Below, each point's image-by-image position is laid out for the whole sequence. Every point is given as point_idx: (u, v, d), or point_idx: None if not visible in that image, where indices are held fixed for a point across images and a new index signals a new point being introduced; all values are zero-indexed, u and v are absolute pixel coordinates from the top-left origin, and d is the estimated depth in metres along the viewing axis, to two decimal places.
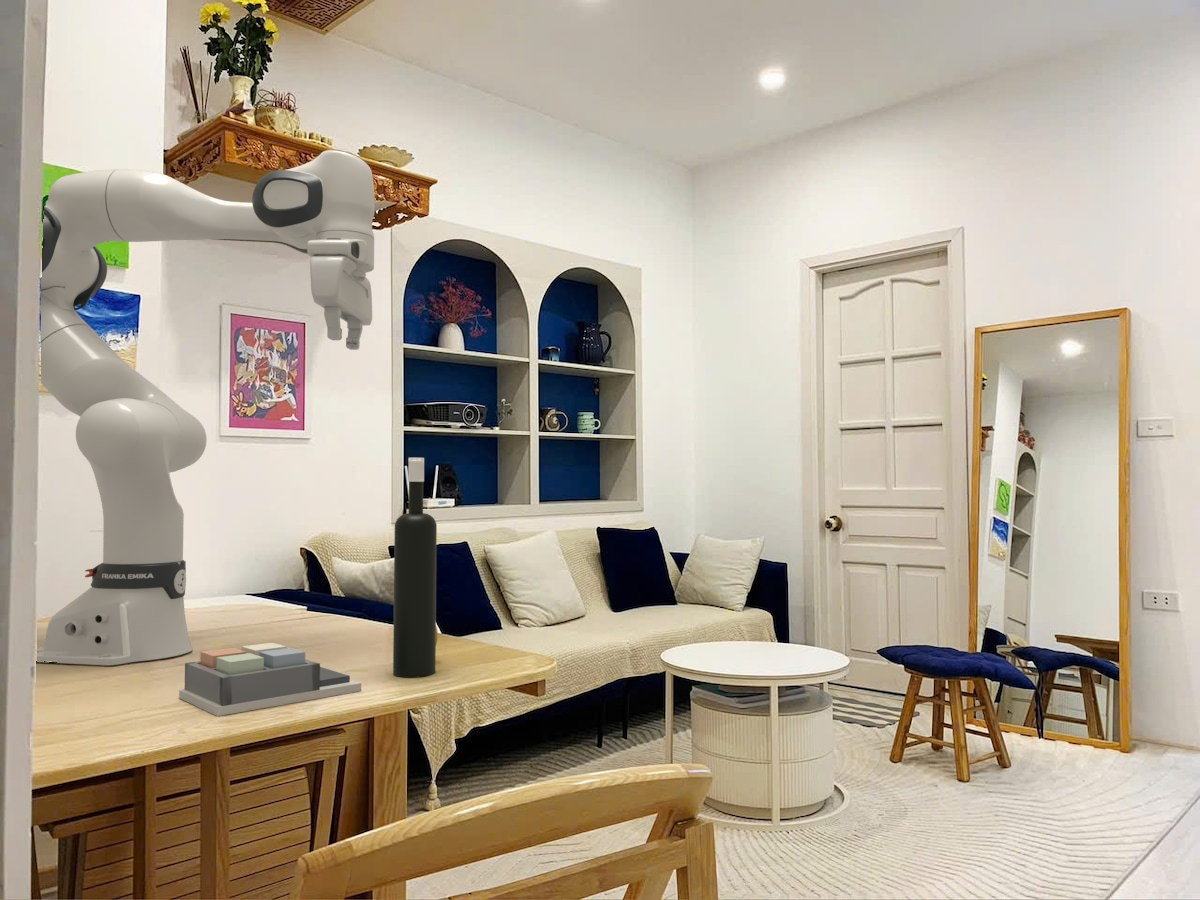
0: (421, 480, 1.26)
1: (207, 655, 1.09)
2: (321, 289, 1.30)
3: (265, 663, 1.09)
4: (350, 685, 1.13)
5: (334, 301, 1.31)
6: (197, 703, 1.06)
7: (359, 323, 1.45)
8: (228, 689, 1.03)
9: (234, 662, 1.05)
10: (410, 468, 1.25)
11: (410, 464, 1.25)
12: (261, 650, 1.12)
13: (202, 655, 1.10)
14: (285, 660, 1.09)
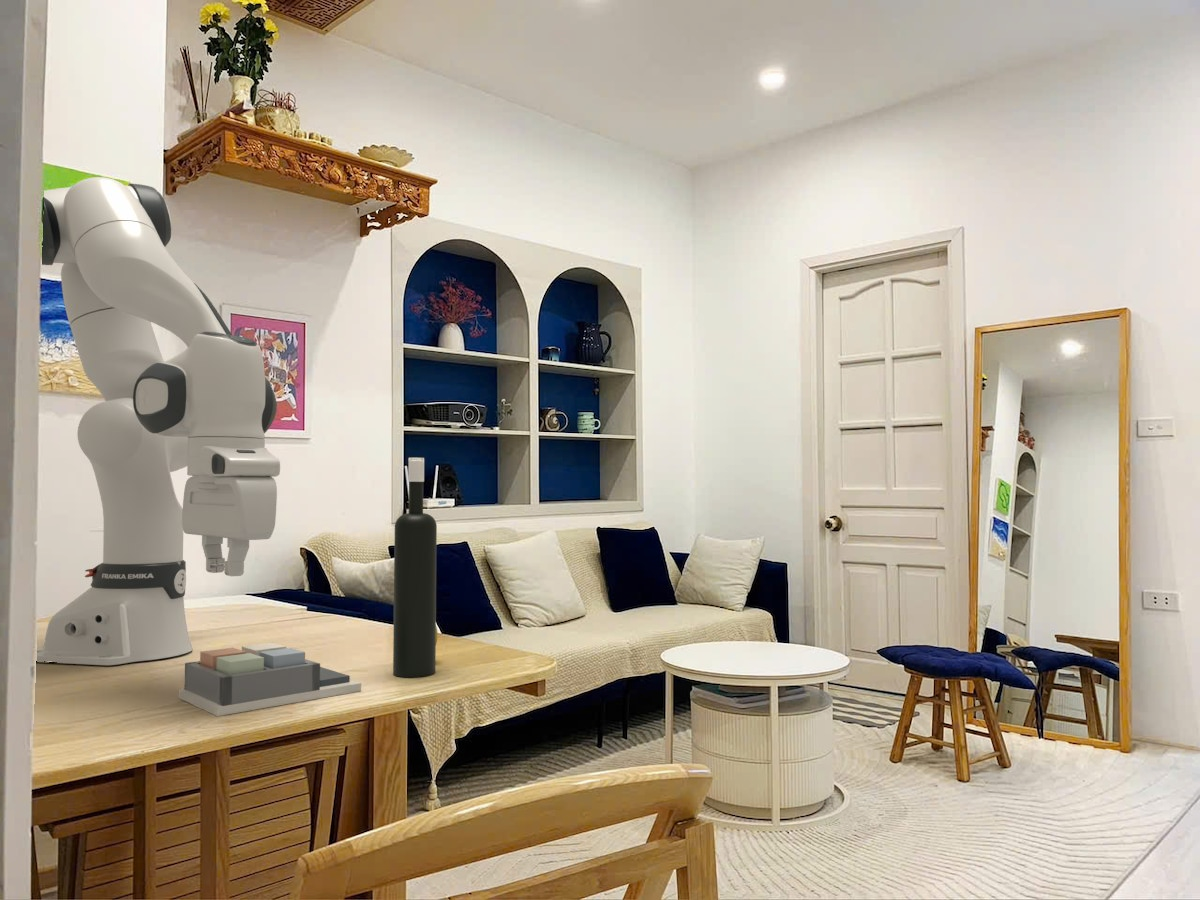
0: (421, 480, 1.26)
1: (207, 655, 1.09)
2: (256, 524, 1.04)
3: (265, 663, 1.09)
4: (350, 685, 1.13)
5: (268, 537, 1.05)
6: (197, 703, 1.06)
7: (221, 538, 1.14)
8: (228, 689, 1.03)
9: (234, 662, 1.05)
10: (410, 468, 1.25)
11: (410, 464, 1.25)
12: (261, 650, 1.12)
13: (202, 655, 1.10)
14: (285, 660, 1.09)
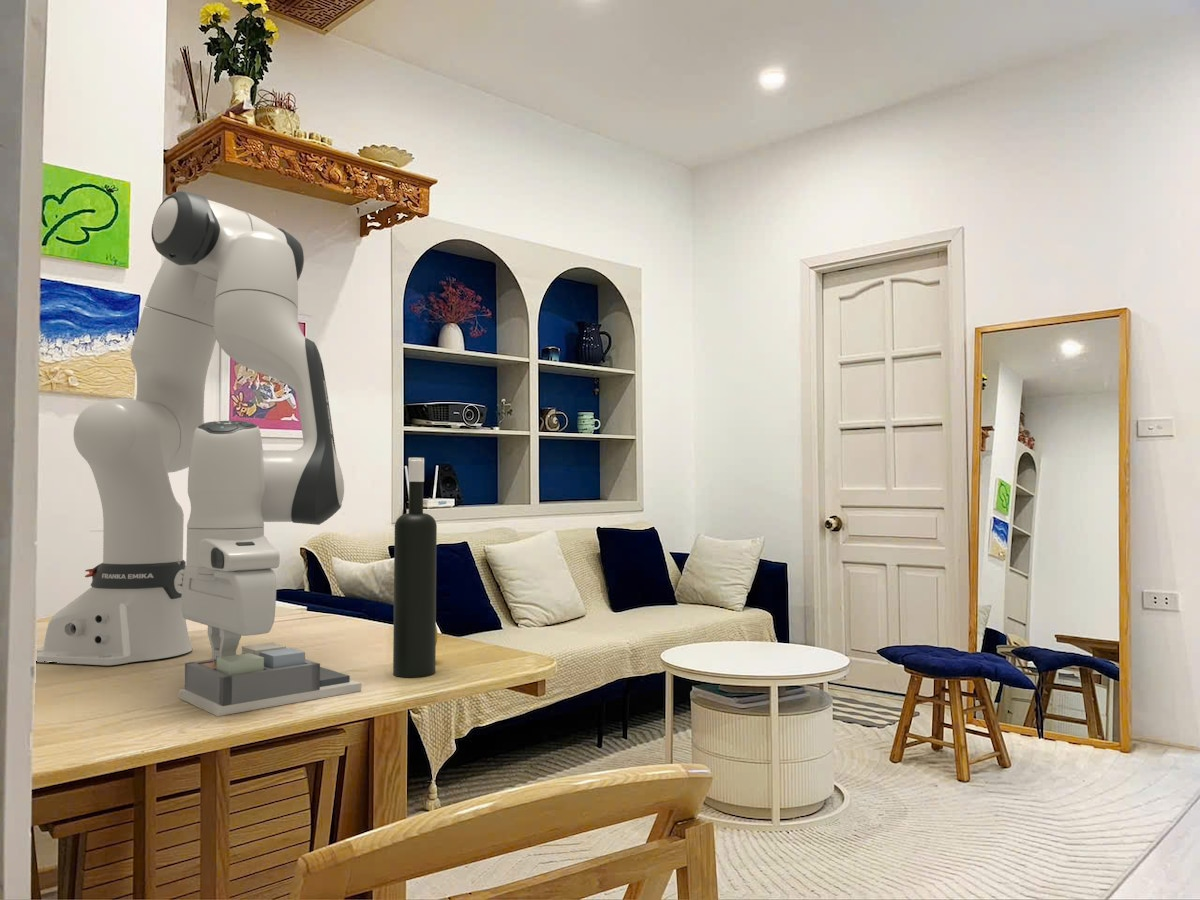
0: (421, 480, 1.26)
1: None
2: (256, 620, 1.04)
3: (265, 663, 1.09)
4: (350, 685, 1.13)
5: (268, 631, 1.05)
6: (197, 703, 1.06)
7: None
8: (228, 689, 1.03)
9: (234, 662, 1.05)
10: (410, 468, 1.25)
11: (410, 464, 1.25)
12: (261, 650, 1.12)
13: None
14: (285, 660, 1.09)
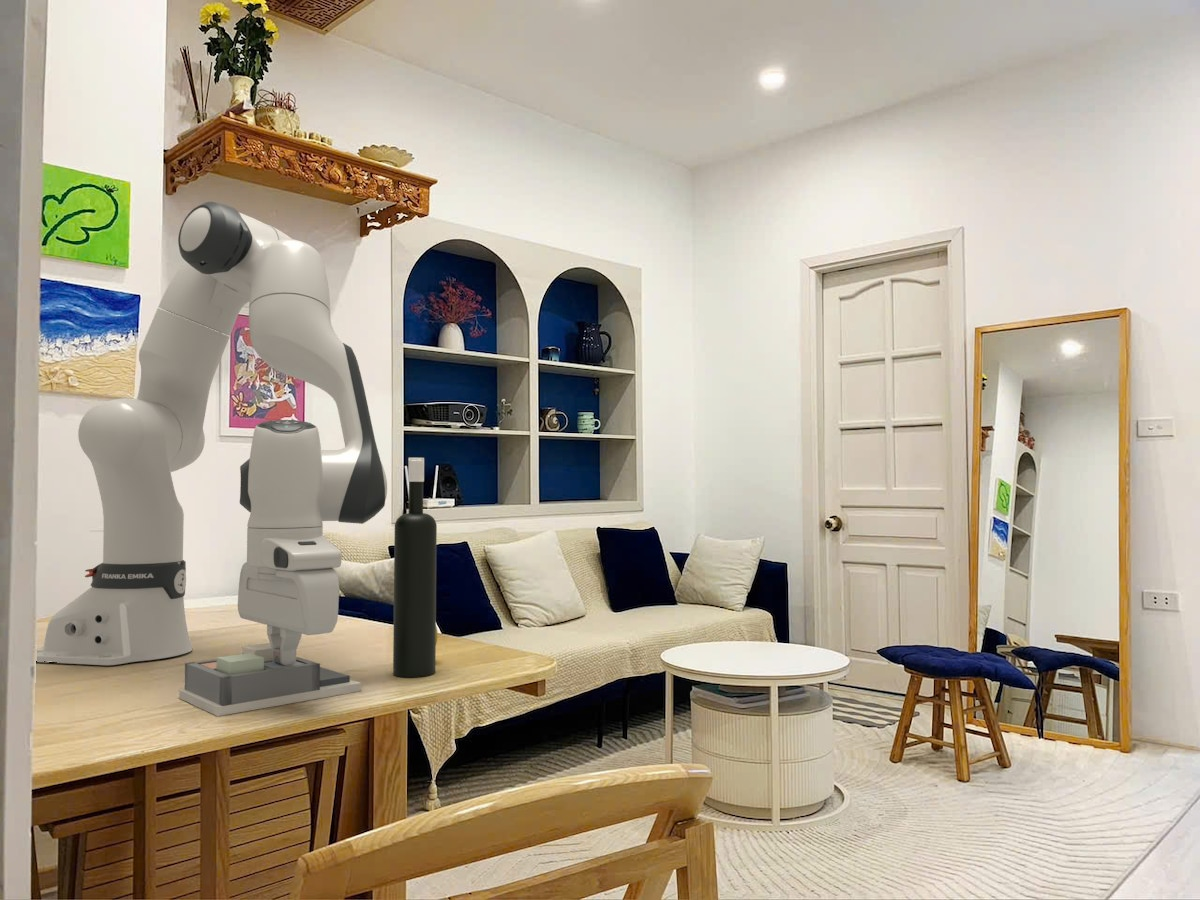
0: (421, 480, 1.26)
1: None
2: (320, 619, 1.04)
3: None
4: (350, 685, 1.13)
5: (331, 631, 1.05)
6: (197, 703, 1.06)
7: None
8: (228, 689, 1.03)
9: (234, 662, 1.05)
10: (410, 468, 1.25)
11: (410, 464, 1.25)
12: (261, 650, 1.12)
13: None
14: None
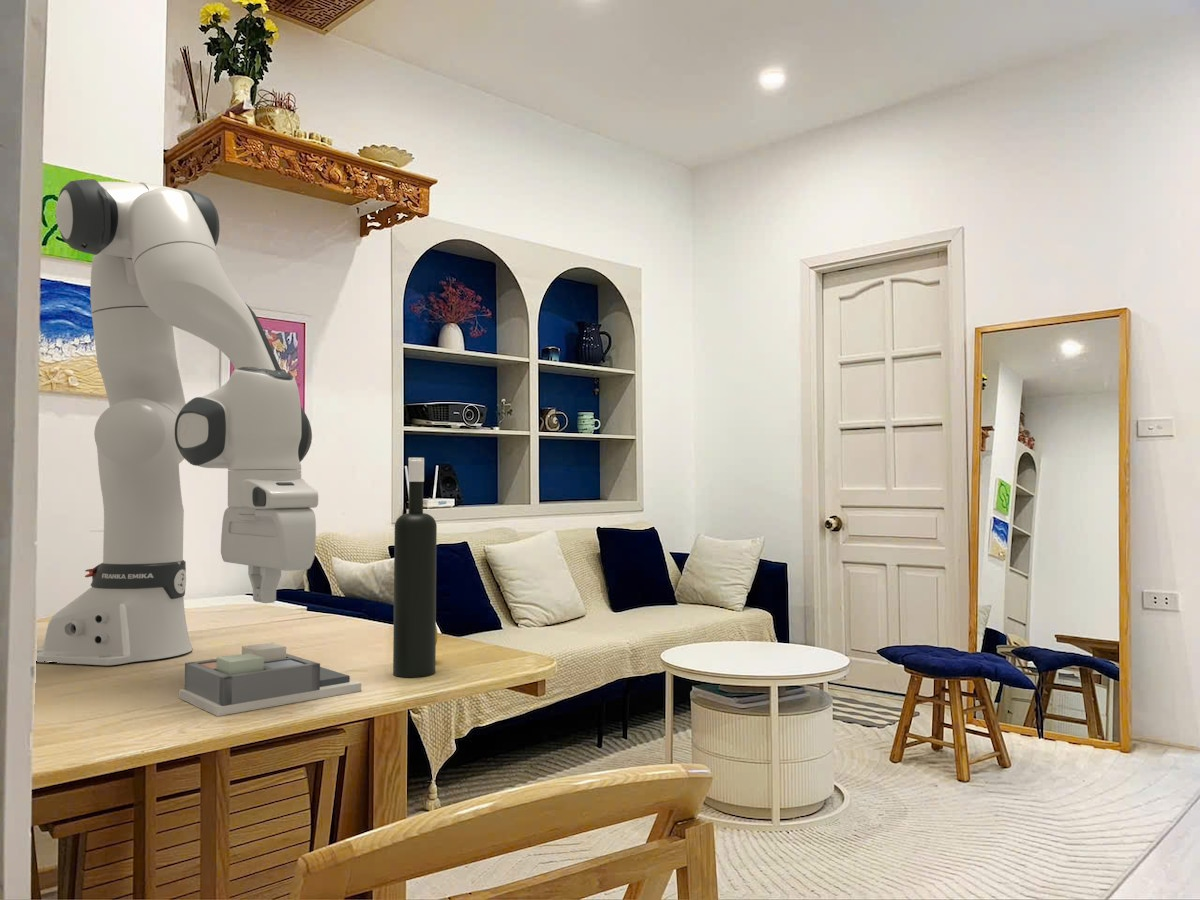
0: (421, 480, 1.26)
1: None
2: (297, 555, 1.07)
3: None
4: (350, 685, 1.13)
5: (308, 567, 1.09)
6: (197, 703, 1.06)
7: None
8: (228, 689, 1.03)
9: (234, 662, 1.05)
10: (410, 468, 1.25)
11: (410, 464, 1.25)
12: (261, 650, 1.12)
13: None
14: None
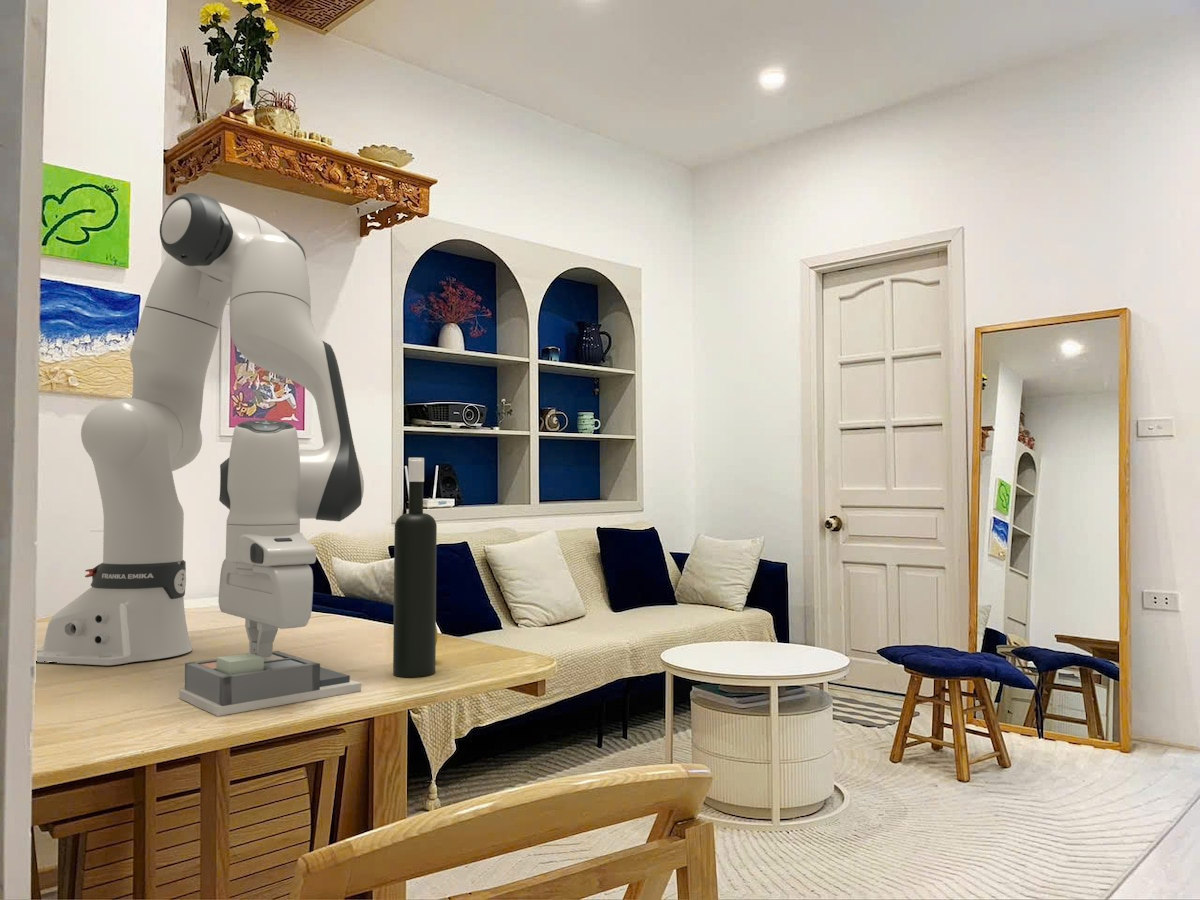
0: (421, 480, 1.26)
1: None
2: (294, 613, 1.07)
3: None
4: (350, 685, 1.13)
5: (305, 625, 1.08)
6: (197, 703, 1.06)
7: None
8: (228, 689, 1.03)
9: (234, 662, 1.05)
10: (410, 468, 1.25)
11: (410, 464, 1.25)
12: None
13: None
14: None
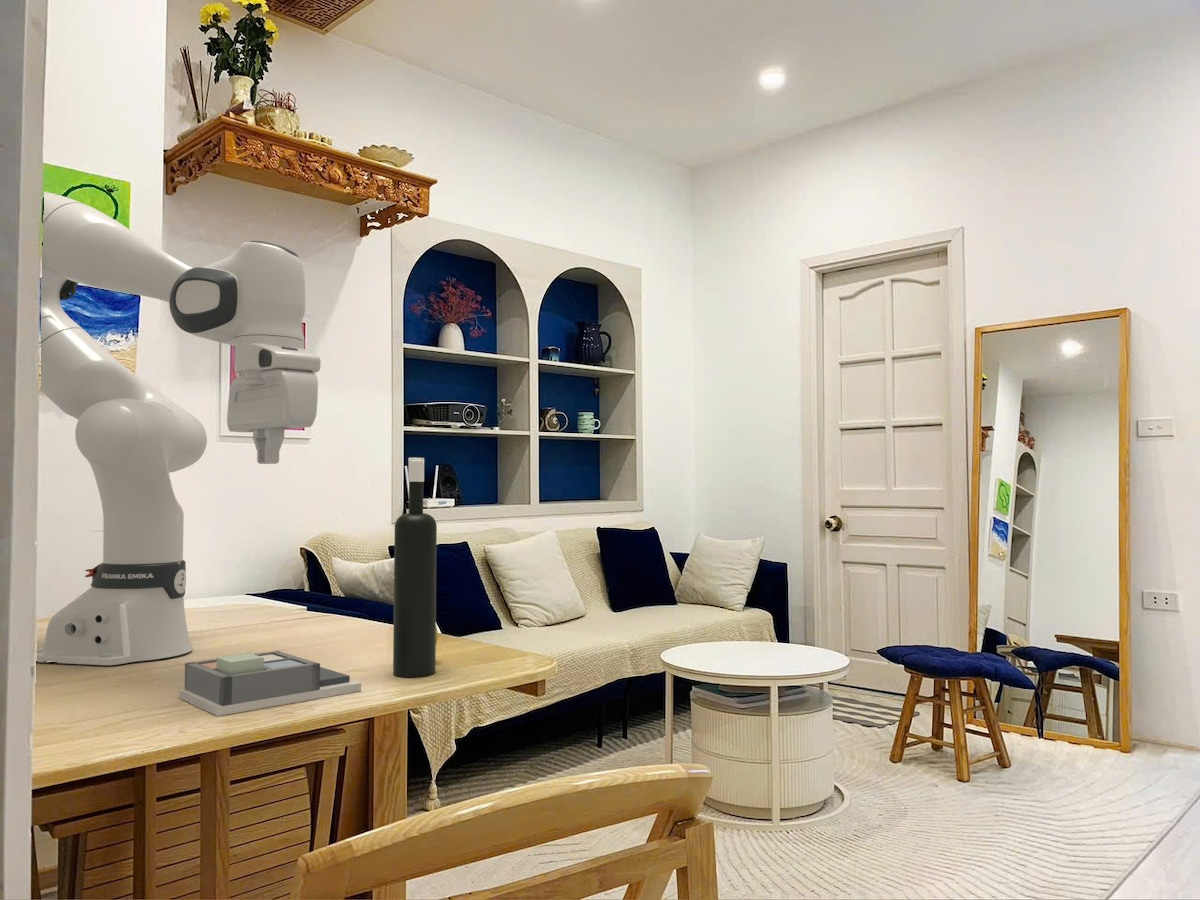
0: (421, 480, 1.26)
1: None
2: (300, 411, 1.14)
3: None
4: (350, 685, 1.13)
5: (310, 425, 1.16)
6: (197, 703, 1.06)
7: None
8: (228, 689, 1.03)
9: (234, 662, 1.05)
10: (410, 468, 1.25)
11: (410, 464, 1.25)
12: None
13: None
14: None
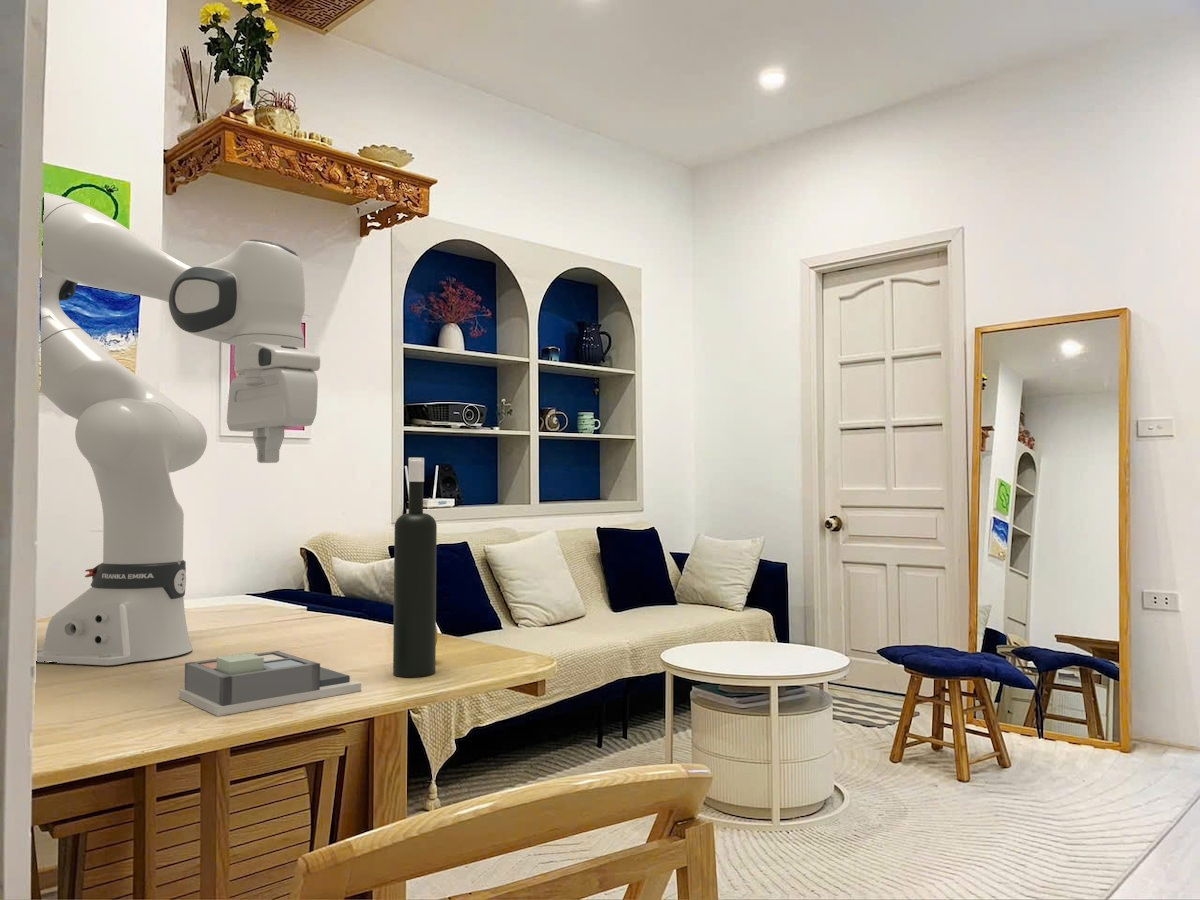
0: (421, 480, 1.26)
1: None
2: (300, 410, 1.14)
3: None
4: (350, 685, 1.13)
5: (310, 424, 1.16)
6: (197, 703, 1.06)
7: None
8: (228, 689, 1.03)
9: (234, 662, 1.05)
10: (410, 468, 1.25)
11: (410, 464, 1.25)
12: None
13: None
14: None
